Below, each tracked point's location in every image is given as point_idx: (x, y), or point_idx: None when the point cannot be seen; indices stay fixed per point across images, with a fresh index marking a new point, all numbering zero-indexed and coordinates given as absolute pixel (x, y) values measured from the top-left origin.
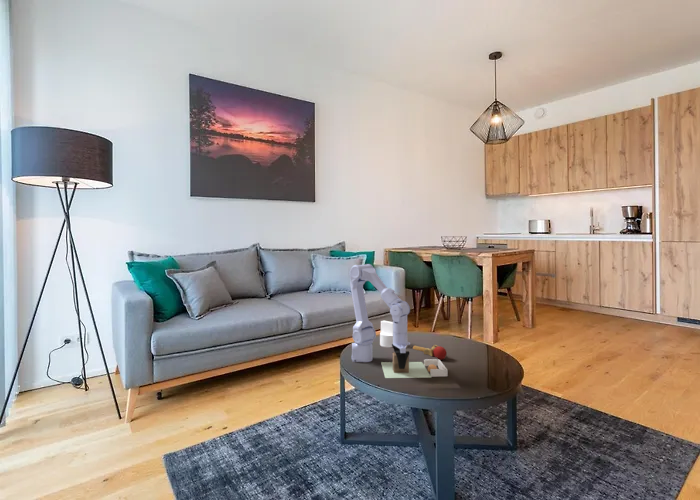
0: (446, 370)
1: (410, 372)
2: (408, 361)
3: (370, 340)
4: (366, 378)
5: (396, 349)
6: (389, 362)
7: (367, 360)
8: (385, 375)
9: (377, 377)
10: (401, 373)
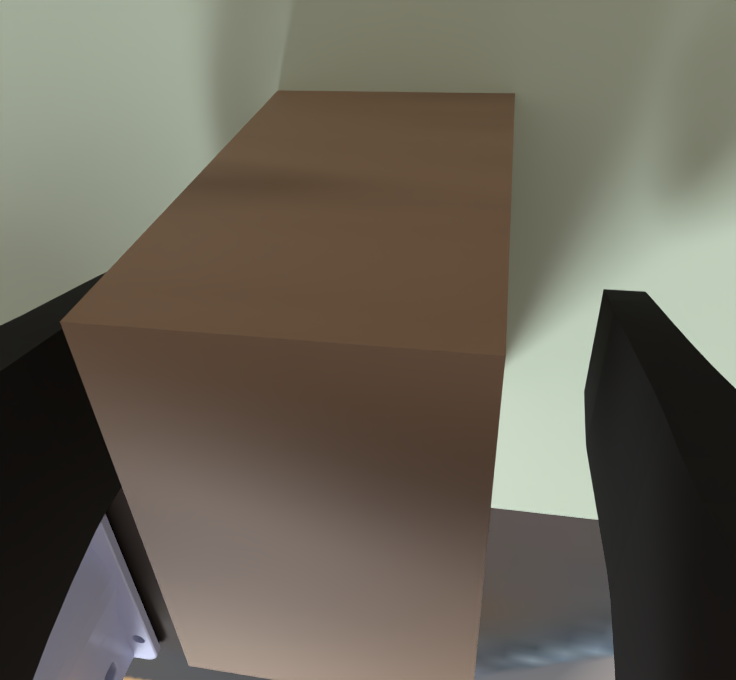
0: None
1: (506, 49)
2: (509, 231)
3: None
4: (519, 618)
5: (13, 613)
6: None
7: (76, 595)
8: (593, 508)
9: (502, 526)
10: (544, 263)
